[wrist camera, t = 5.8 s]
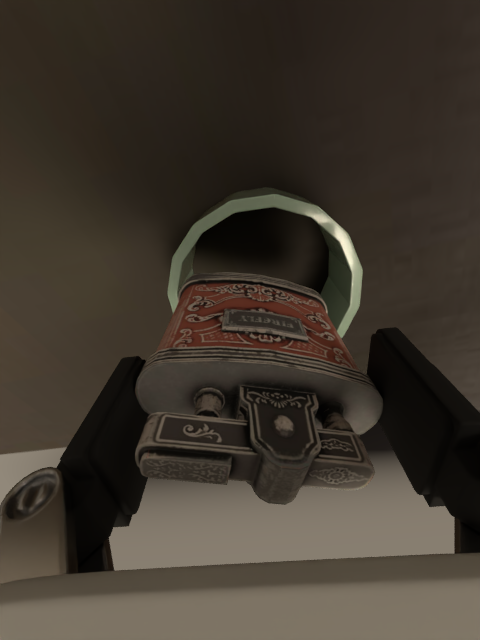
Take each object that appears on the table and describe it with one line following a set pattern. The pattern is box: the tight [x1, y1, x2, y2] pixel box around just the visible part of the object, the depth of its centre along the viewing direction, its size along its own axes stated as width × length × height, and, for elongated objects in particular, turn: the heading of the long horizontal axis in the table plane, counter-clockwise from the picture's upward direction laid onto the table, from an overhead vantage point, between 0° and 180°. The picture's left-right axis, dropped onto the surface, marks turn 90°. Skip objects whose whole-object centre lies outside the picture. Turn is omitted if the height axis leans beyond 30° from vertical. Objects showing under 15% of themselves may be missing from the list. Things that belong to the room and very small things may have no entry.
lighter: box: [135, 272, 383, 505], centre depth 11 cm, size 8×3×10 cm, turn 81°
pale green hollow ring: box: [167, 187, 363, 338], centre depth 18 cm, size 11×11×5 cm
